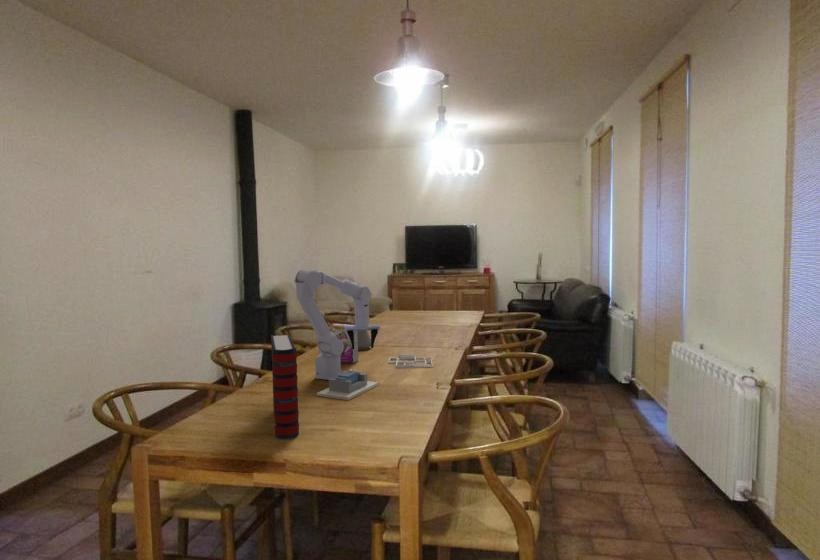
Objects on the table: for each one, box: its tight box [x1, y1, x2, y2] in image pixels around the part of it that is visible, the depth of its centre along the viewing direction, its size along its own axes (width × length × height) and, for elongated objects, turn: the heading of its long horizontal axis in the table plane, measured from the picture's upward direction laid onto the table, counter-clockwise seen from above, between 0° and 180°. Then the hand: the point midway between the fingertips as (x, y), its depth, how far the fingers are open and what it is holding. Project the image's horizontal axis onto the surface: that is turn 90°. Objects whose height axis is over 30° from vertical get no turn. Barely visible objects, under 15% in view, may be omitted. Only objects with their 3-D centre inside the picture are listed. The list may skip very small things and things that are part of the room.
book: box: [270, 333, 300, 440], centre depth 156 cm, size 25×7×25 cm, turn 16°
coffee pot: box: [352, 321, 371, 351], centre depth 257 cm, size 21×12×15 cm, turn 178°
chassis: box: [316, 372, 379, 401], centre depth 191 cm, size 13×20×5 cm, turn 154°
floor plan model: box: [387, 354, 434, 369], centre depth 231 cm, size 19×25×2 cm
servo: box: [335, 369, 361, 384], centre depth 190 cm, size 4×10×6 cm, turn 154°
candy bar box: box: [330, 323, 359, 364], centre depth 234 cm, size 11×5×16 cm, turn 65°
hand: (362, 348), depth 217 cm, fingers open, 7 cm apart
